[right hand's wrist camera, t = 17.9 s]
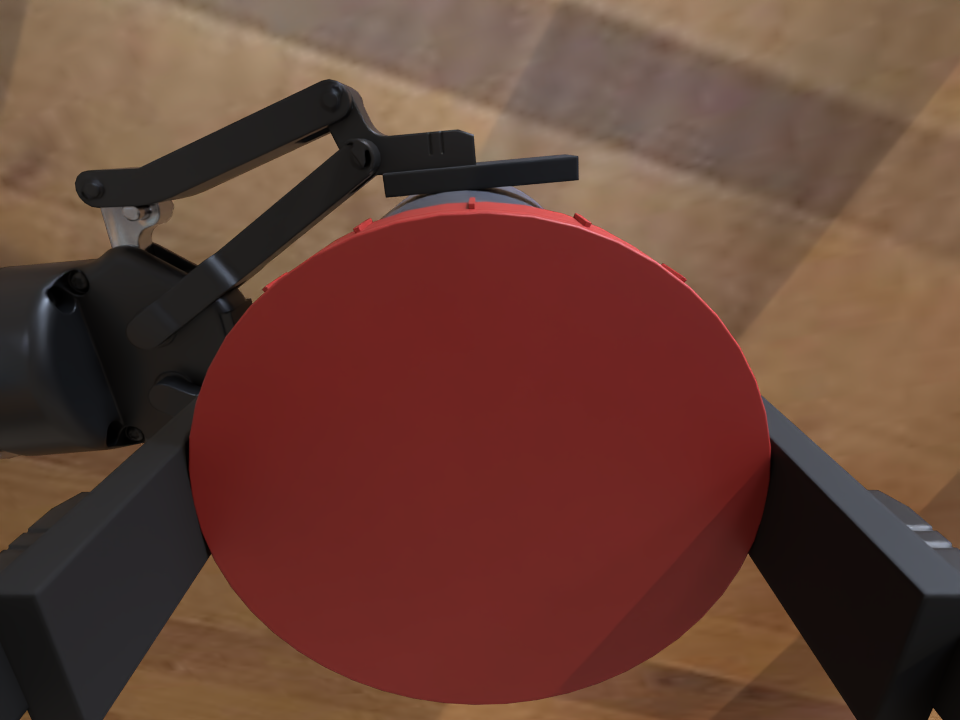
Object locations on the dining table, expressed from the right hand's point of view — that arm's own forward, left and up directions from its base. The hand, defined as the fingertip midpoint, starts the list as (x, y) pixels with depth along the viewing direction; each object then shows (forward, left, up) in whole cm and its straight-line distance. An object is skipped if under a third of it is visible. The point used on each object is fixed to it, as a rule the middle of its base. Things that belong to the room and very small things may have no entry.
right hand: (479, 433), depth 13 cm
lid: (0, 0, +3) cm, 3 cm away
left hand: (-2, +3, -9) cm, 9 cm away
